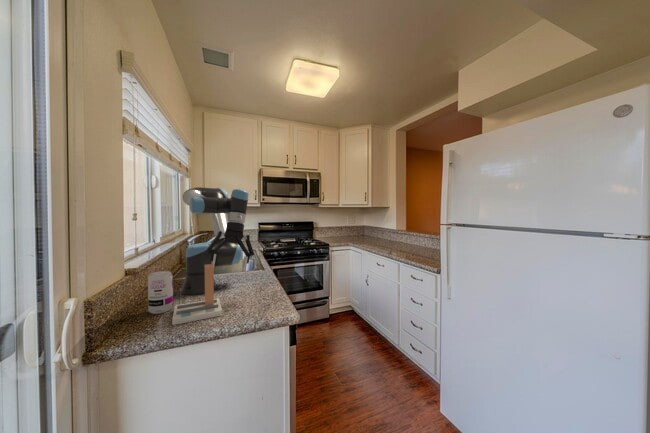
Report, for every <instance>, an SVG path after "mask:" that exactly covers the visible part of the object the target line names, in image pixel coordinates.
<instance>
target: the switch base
mask: <svg viewBox="0 0 650 433" xmlns="http://www.w3.org/2000/svg"><path fill="white" fill-rule="evenodd" d="M173 309H174V310H173V315H172V321H171V322H172V323H171V325H172V326H174V325H180V324H185V323H190V322H195V321H196V322H197V321H201V320H207V319H210V318H216V317H221V316H223V309H222V305H221V302H220V299H219V298H214V305H210V306H205V300H200V301H194V302H188V303H187V302H186V303H182V304H176V305H175V306H174V308H173Z"/></svg>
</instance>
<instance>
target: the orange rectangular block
mask: <svg viewBox="0 0 650 433" xmlns="http://www.w3.org/2000/svg"><path fill="white" fill-rule="evenodd" d="M214 270H215V267H214V266H213V264H207V265H205V293H204V301H205V306H210V305H214V299H215V289H214V280H215V277H214V275H215V274H214V273H215V272H214Z"/></svg>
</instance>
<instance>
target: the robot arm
mask: <svg viewBox="0 0 650 433" xmlns="http://www.w3.org/2000/svg"><path fill="white" fill-rule="evenodd" d="M228 195H229V194H228V193H227V190H226V189H224V188H219V187H215V188H213V187H202V186H201V187H198V186H197V187H196V186H195V187H191V188H188V189H186V190H185V192H184V193H183V194H182V201H183V202H184V203H185V204H186V205H187V206H189V209H190V212H191V213H192V214H199V215H200V214H210V219H211V225H212V228H213V233H214V239H213V240H212V241H211V242H210V241H207V242H199V243H195V244H194V243H193V244H191V245H189V246H187V247H186V249H185V278H184V281H183V283H182V287H181V293H182V294H184V295H188V296H189V295H190V296H194V295H202V294H205V265H207V264H213V266H214V268H217V267H218V268H220V267H226V266H233V265H234V266H235V265H237V264H239V263H240V262H241V260H242V256H243V253H244V256H243V261H242V262H243V263H242V268H241V269H242V272H246V271H247V265H248V264H250V258H251V257H252V256H254V255H255V252H254V250H253V246H252V243H251V240H250V239H251V236H250V234H246V235H244V228H245V222H246V215H247V214H246V213H247V208H248V201H249V192H248V191H246V190H244V189H239V188H235V189H232V191H231V194H230V197H229V196H228ZM242 240H244V241H245V244H246V246H245V244H244V242H243V241H242ZM246 247H247V248H246ZM216 288H217V283H216V280H215V279H214V290H215V289H216Z"/></svg>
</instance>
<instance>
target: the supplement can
mask: <svg viewBox="0 0 650 433" xmlns="http://www.w3.org/2000/svg"><path fill="white" fill-rule="evenodd" d="M173 280H174V276H173V274H172V272H171V271H170V270H160V271H155V272H151V273H149V276H148V278H147V303H148V304H147V306H148V308H147V311H148V312H149V313H150V314H153V315H159V314H163V313H167V312H168V311H171V310H172V308H174V281H173Z"/></svg>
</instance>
